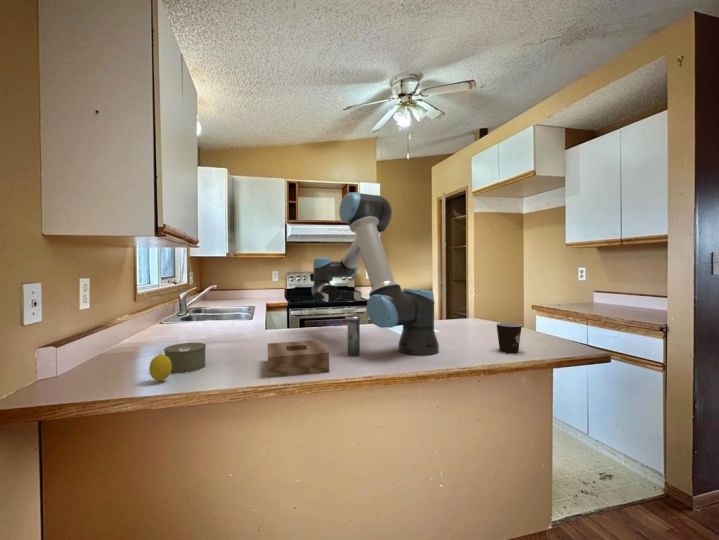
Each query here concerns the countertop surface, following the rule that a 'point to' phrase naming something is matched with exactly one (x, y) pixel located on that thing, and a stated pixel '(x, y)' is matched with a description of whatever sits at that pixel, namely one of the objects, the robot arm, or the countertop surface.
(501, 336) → the coffee mug
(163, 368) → the lemon
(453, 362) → the countertop surface
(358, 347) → the pin
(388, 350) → the countertop surface
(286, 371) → the block
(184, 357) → the can
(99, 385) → the countertop surface
